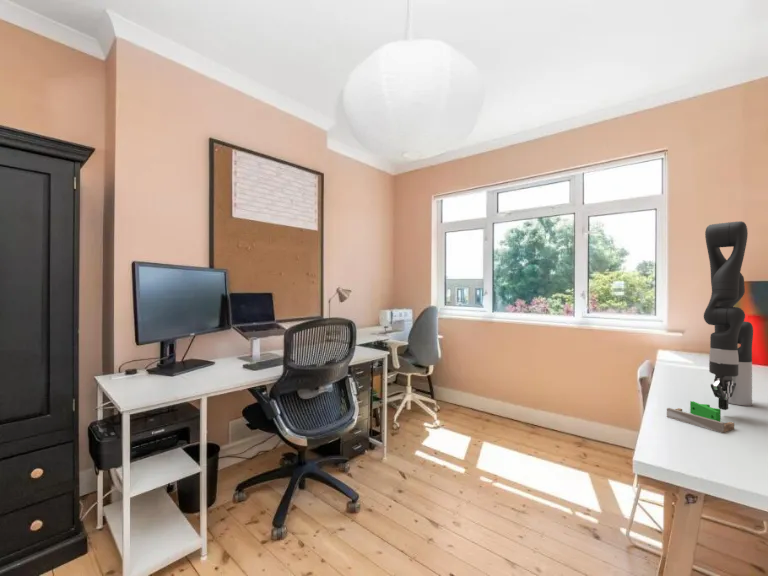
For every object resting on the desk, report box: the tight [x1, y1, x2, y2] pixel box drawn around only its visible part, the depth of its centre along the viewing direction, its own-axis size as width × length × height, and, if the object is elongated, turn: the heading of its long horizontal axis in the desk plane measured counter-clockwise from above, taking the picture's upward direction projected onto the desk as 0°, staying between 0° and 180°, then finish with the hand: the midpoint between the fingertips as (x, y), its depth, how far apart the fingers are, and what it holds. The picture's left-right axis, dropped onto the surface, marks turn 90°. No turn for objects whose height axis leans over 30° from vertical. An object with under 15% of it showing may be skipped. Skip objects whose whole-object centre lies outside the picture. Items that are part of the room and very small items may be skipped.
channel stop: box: [666, 407, 735, 434], centre depth 116 cm, size 8×15×3 cm, turn 24°
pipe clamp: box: [689, 400, 722, 422], centre depth 120 cm, size 11×4×5 cm, turn 173°
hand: (723, 409), depth 123 cm, fingers closed
